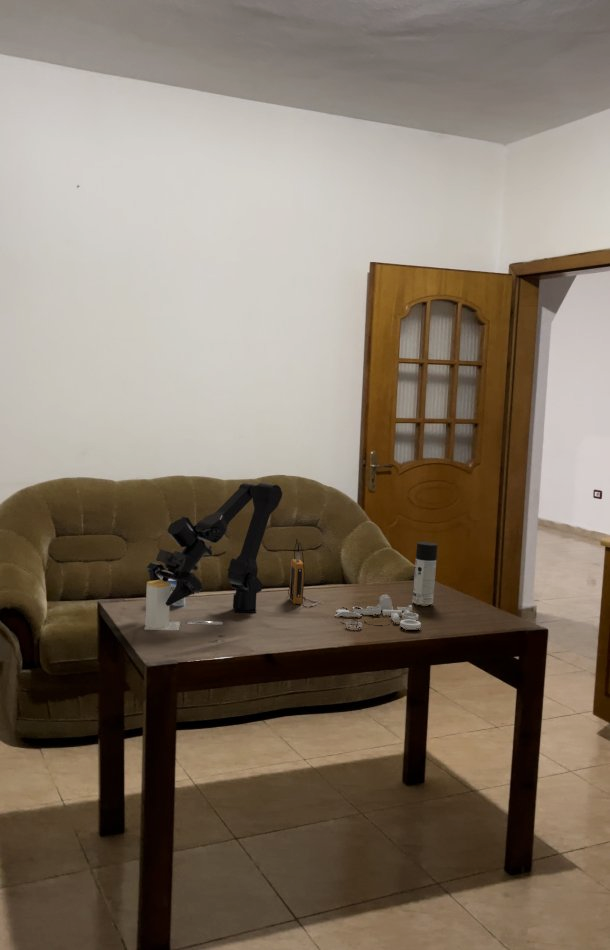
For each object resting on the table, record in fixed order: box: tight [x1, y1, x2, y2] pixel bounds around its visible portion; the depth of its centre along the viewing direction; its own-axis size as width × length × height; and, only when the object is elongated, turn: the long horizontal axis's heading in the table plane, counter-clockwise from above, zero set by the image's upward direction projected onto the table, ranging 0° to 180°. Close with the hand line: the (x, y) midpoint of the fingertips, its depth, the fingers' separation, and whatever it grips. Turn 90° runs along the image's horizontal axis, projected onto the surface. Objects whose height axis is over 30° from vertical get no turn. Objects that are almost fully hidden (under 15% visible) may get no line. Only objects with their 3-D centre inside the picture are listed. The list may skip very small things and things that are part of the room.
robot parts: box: [334, 594, 422, 629], centre depth 263 cm, size 25×25×5 cm
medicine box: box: [167, 579, 187, 607], centre depth 263 cm, size 8×4×9 cm, turn 93°
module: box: [144, 580, 170, 629], centre depth 240 cm, size 4×4×12 cm
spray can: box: [411, 541, 438, 605], centre depth 284 cm, size 7×7×20 cm
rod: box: [186, 620, 224, 626], centre depth 245 cm, size 10×2×2 cm, turn 96°
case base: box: [144, 620, 181, 631], centre depth 241 cm, size 11×10×1 cm
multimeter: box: [287, 538, 324, 608], centre depth 278 cm, size 15×10×20 cm
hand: (156, 601), depth 240 cm, fingers open, 9 cm apart
